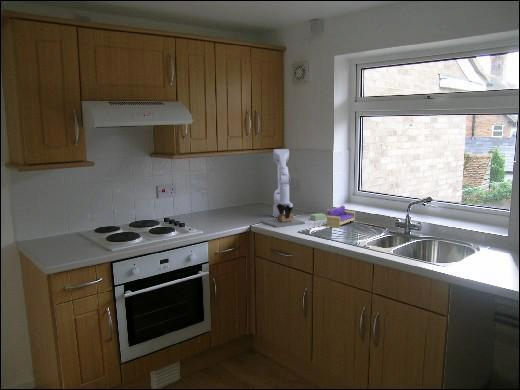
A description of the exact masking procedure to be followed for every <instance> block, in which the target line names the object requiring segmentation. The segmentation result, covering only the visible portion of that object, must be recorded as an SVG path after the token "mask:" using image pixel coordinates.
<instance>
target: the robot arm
mask: <svg viewBox="0 0 520 390" xmlns="http://www.w3.org/2000/svg"><path fill="white" fill-rule="evenodd" d="M272 153H273V154H272V155H273V156H272V158H273V163H275V164H276V167H277V189H275V190H274V191H273V203H274V204H273V205H272V216H274V217H273V218H276V217H277V215H278V214H285V217H286V218H289V216H290V214H292V213H291V212H292V210H293V208H294V204H293V203H292V202H291V201H290V184H291V176H290V173H289V167H288V166H287V163H288V161H289V158H290V149H289V148H274V149H273V152H272Z"/></svg>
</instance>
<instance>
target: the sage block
mask: <svg viewBox="0 0 520 390" xmlns="http://www.w3.org/2000/svg"><path fill="white" fill-rule="evenodd" d="M326 216H327V215H326V214H325V213H321V212H320V213H312V214H310V215H309V217H310V218H309V220H310V219H311V220H310V221H314V222H318V220H319V221H326V220H327V218H326ZM325 219H326V220H325Z"/></svg>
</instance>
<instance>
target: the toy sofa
mask: <svg viewBox="0 0 520 390" xmlns="http://www.w3.org/2000/svg"><path fill="white" fill-rule="evenodd" d="M326 211H327V215H326V227H330V228H337V229H340V228H341V226H342V225H344V224H347V223H351V222H350V221H353V222H354V223H355V221H356V211H350V210H346V207H345V205H340V206H339V207H335V208H333V209H327V210H326ZM353 222H352V223H353Z"/></svg>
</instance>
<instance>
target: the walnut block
mask: <svg viewBox="0 0 520 390" xmlns="http://www.w3.org/2000/svg"><path fill="white" fill-rule="evenodd" d="M276 219H277V220H278V221H282V222H284V221H291V220H293V219H294V214H293V213H290V216H289V218H286V217H285V214H278V215H277V218H276Z"/></svg>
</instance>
